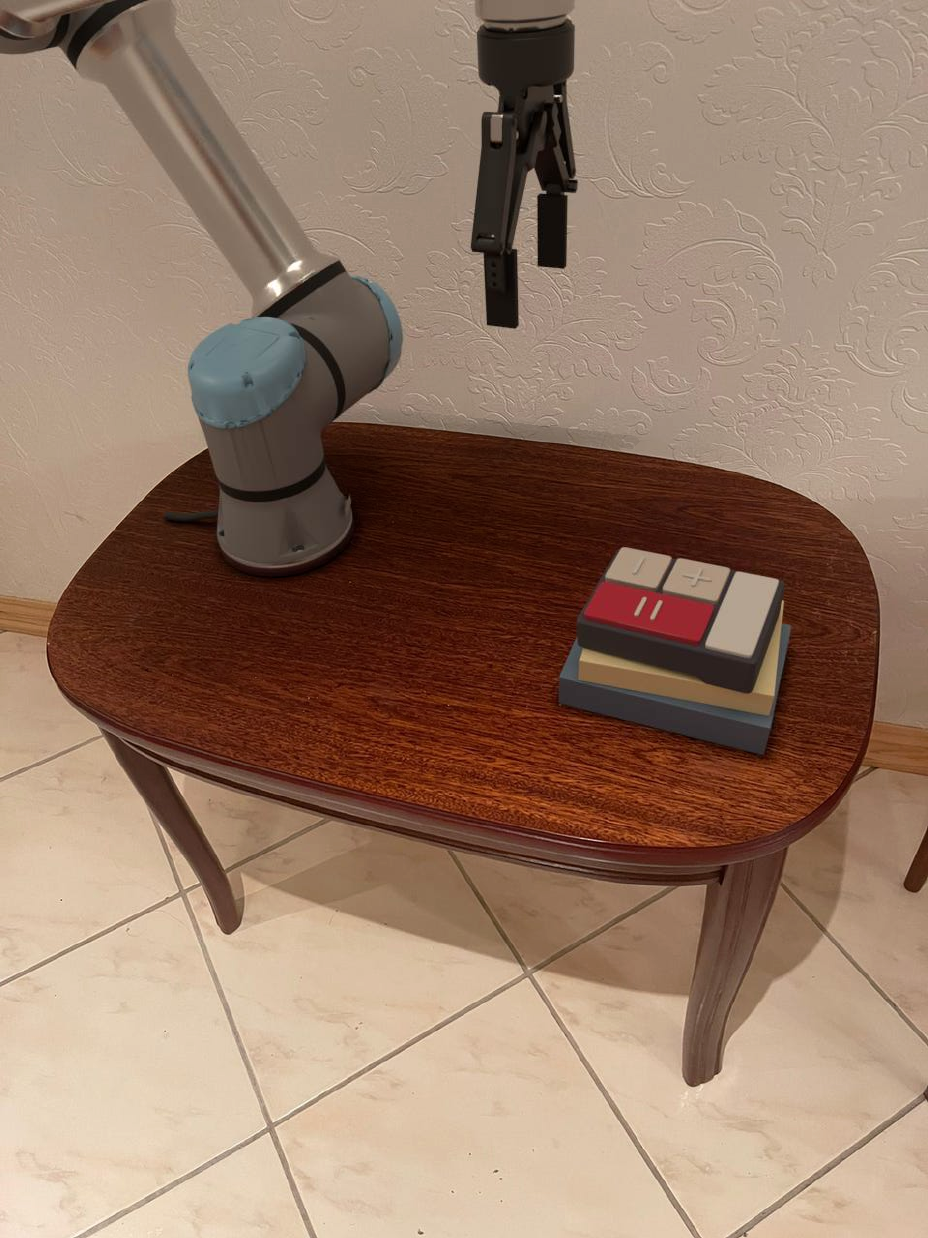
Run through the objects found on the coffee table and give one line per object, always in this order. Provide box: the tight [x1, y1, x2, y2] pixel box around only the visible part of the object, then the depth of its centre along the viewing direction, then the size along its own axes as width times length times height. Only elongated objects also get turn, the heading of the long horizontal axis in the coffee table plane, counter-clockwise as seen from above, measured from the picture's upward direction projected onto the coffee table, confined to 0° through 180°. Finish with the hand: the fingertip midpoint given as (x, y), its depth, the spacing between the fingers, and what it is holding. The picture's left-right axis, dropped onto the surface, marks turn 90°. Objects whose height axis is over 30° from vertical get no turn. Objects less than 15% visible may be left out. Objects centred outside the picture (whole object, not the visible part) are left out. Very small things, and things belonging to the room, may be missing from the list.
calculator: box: [576, 546, 786, 694], centre depth 76 cm, size 11×4×15 cm
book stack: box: [558, 599, 792, 756], centre depth 80 cm, size 18×13×6 cm
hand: (528, 294), depth 82 cm, fingers open, 13 cm apart
